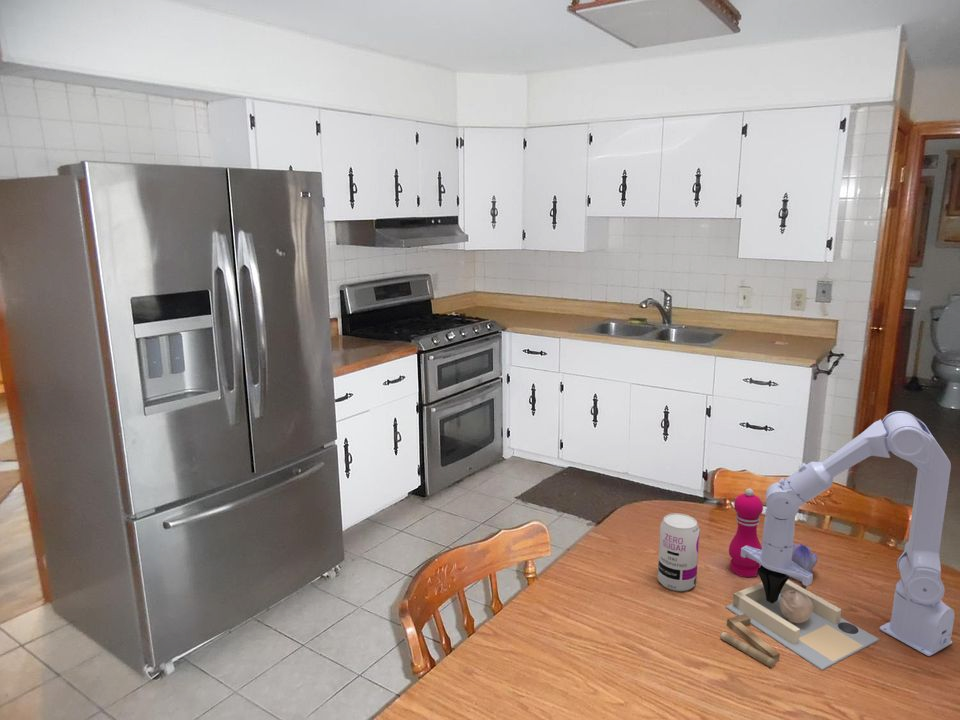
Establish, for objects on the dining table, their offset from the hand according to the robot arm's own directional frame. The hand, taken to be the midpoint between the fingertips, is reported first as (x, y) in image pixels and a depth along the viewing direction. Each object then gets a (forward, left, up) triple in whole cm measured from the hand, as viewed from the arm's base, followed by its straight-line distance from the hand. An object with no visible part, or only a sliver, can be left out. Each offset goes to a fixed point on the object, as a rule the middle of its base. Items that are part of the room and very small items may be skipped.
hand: (771, 600), depth 140 cm
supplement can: (+16, +11, -2) cm, 20 cm away
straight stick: (-8, +16, -2) cm, 17 cm away
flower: (+4, -15, -2) cm, 15 cm away
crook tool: (-6, +11, -2) cm, 13 cm away
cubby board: (-7, 0, -1) cm, 7 cm away
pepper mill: (+12, -6, -2) cm, 14 cm away
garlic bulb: (-6, 0, -1) cm, 6 cm away
